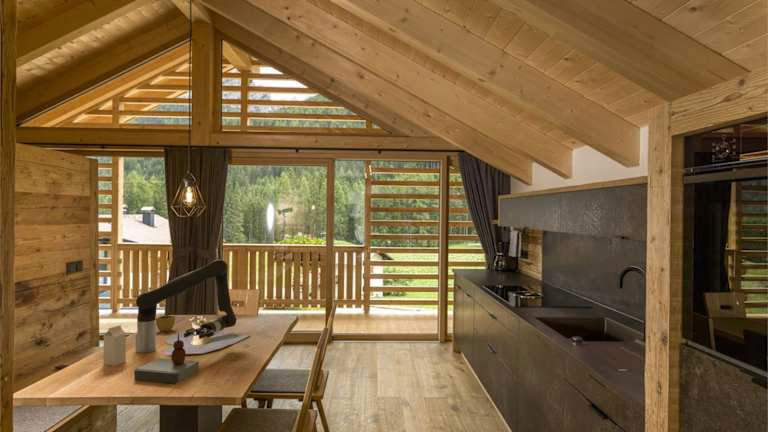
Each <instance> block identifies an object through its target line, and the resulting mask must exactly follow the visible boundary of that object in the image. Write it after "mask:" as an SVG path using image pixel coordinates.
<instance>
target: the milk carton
mask: <svg viewBox="0 0 768 432" xmlns="http://www.w3.org/2000/svg"><path fill="white" fill-rule="evenodd" d="M126 336H127V334H126V332H125V331H124V330H123V328H122V324H120V325H115V326H112V327H108V330H107V332H106V333H105V334H104V335H103V365H107V366H113V367H115V366H117V365H121V364H123V363H126V361H127V360H126V359H127V357H126V356H127V355H126V354H127V349H126V348H127V346H126V345H127V339H126Z"/></svg>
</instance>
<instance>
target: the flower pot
mask: <svg viewBox="0 0 768 432" xmlns="http://www.w3.org/2000/svg"><path fill="white" fill-rule="evenodd" d="M175 321H176V315H165V314H163V315H162V316H159V317H156V329H158V331H159V332H165V333H167V332H169V331H172V330H173V328H174V326H175V324H176V322H175Z"/></svg>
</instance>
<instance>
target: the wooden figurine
mask: <svg viewBox="0 0 768 432" xmlns="http://www.w3.org/2000/svg"><path fill="white" fill-rule="evenodd" d="M184 344H185V343H184V341H183V340H180V333H179V332H177V340H176V341H174V342H173V345H172V346H173V350H172V352H171V356H170V357H171V358H170V359H172V362H173V364H174V365H181V364H183V363H184V360H186V349H184V347H185V345H184Z"/></svg>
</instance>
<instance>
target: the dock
mask: <svg viewBox="0 0 768 432" xmlns="http://www.w3.org/2000/svg"><path fill="white" fill-rule="evenodd" d="M199 363H200V361H198V360H188V359H185V360H184V363H183V364H181V365H174V364H173V362H172V359H171V358H164V357H163V358H162V357H159V358H157V359H155V360H152V361H150V362H148V363H145V364H143V365H141V366H139V367H137V368H136V369H134V370H133V371H134V373H133V375H134V376H133V377H134V380H135V381H141V382H142V381H143V382H152V381H153V382H154V383H155V382H156V383H162V382H165V384H173V385H176V384H179V383H181V382H183V381H185V380H186V379H188V378H190V377H191V376H193V375H195V374H197V373H198V372H199V371H200V368H199V367H200V365H199ZM184 379H185V380H184ZM153 382H152V383H153Z"/></svg>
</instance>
